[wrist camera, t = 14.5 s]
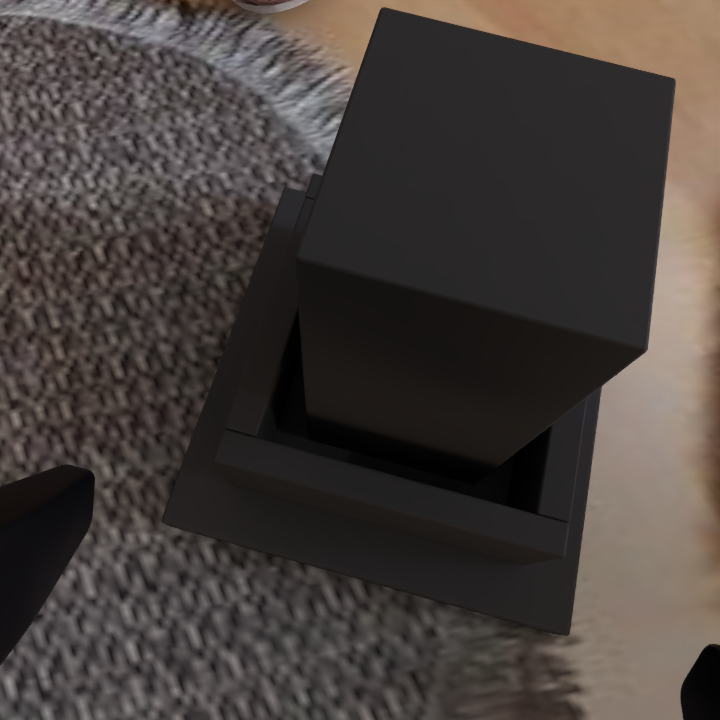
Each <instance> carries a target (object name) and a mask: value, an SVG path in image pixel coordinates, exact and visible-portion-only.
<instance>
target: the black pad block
mask: <svg viewBox="0 0 720 720" xmlns="http://www.w3.org/2000/svg"><path fill="white" fill-rule="evenodd" d="M675 84H676V80H675V79H674V78H670V77H666V76H662V75H658V74H654V73H650V72H646V71H642V70H638V69H633V68H629V67H625V66H621V65H617V64H613V63H609V62H605V61H601V60H597V59H593V58H589V57H585V56H581V55H576V54H572V53H568V52H564V51H560V50H556V49H552V48H548V47H544V46H540V45H536V44H532V43H528V42H524V41H519V40H515V39H511V38H507V37H503V36H499V35H495V34H491V33H487V32H483V31H479V30H475V29H471V28H466V27H462V26H458V25H454V24H450V23H446V22H442V21H438V20H434V19H430V18H426V17H422V16H418V15H414V14H409V13H405V12H401V11H397V10H393V9H389V8H385V7H384V8H381V10H380V12H379V15H378V18H377V21H376V23H375V26H374V29H373V32H372V35H371V38H370V41H369V44H368V46H367V49H366V52H365V55H364V58H363V61H362V64H361V67H360V69H359V72H358V75H357V78H356V81H355V84H354V87H353V90H352V92H351V95H350V98H349V101H348V104H347V107H346V110H345V113H344V115H343V118H342V121H341V124H340V127H339V130H338V133H337V136H336V138H335V141H334V144H333V147H332V150H331V153H330V156H329V158H328V161H327V164H326V167H325V170H324V173H323V176H322V179H321V181H320V184H319V187H318V190H317V193H316V196H315V199H314V202H313V204H312V207H311V210H310V213H309V216H308V219H307V222H306V225H305V227H304V230H303V233H302V236H301V239H300V242H299V245H298V248H297V250H296V253H295V256H294V257H295V270H296V284H297V297H298V311H299V324H300V337H301V351H302V364H303V378H304V391H305V404H306V418H307V431H308V439H309V440H313V441H316V442H320V443H324V444H327V445H331V446H335V447H338V448H342V449H346V450H349V451H353V452H357V453H360V454H364V455H367V456H371V457H375V458H378V459H382V460H386V461H389V462H393V463H397V464H400V465H404V466H408V467H411V468H415V469H419V470H422V471H426V472H430V473H433V474H437V475H440V476H444V477H448V478H451V479H455V480H459V481H462V482H466V483H470V484H476V483H477V482H479V481H480V480H481V479H482V478H484V477H485V476H486V475H488V474H489V473H490V472H491V471H493V470H494V469H495V468H497V467H498V466H499V465H501V464H502V463H503V462H504V461H506V460H507V459H508V458H510V457H511V456H512V455H513V454H515V453H516V452H517V451H519V450H520V449H521V448H522V447H524V446H525V445H526V444H528V443H529V442H530V441H531V440H533V439H534V438H535V437H537V436H538V435H539V434H541V433H542V432H543V431H544V430H546V429H547V428H548V427H550V426H551V425H552V424H553V423H555V422H556V421H557V420H559V419H560V418H561V417H562V416H564V415H565V414H566V413H568V412H569V411H570V410H571V409H573V408H574V407H575V406H577V405H578V404H579V403H581V402H582V401H583V400H584V399H586V398H587V397H588V396H590V395H591V394H592V393H593V392H595V391H596V390H597V389H599V388H600V387H601V386H602V385H604V384H605V383H606V382H608V381H609V380H610V379H611V378H613V377H614V376H615V375H617V374H618V373H619V372H621V371H622V370H623V369H624V368H626V367H627V366H628V365H630V364H631V363H632V362H633V361H635V360H636V359H637V358H639V357H640V356H641V355H642V354H644V353H645V352H646V351H647V349H648V341H649V332H650V322H651V313H652V303H653V294H654V284H655V274H656V265H657V255H658V246H659V236H660V227H661V217H662V208H663V198H664V189H665V179H666V170H667V160H668V151H669V141H670V132H671V122H672V113H673V103H674V94H675Z"/></svg>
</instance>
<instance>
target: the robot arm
mask: <svg viewBox="0 0 720 720" xmlns="http://www.w3.org/2000/svg"><path fill="white" fill-rule="evenodd" d="M94 486H95V477H94V474H93V473H92V472H91V471H90V470H88V469H84V468H80V467H77V466H73V465H68V464H65V465H61V466H58V467H55V468H52V469H49V470H47V471H44V472H41V473H38V474H35V475H32V476H29V477H27V478H24V479H21V480H18V481H15V482H12V483H10V484H7V485H4V486H1V487H0V665H1V664H2V662H3V661H4V660H5V659H6V657H7V656H8V655H9V653H10V652H11V651H12V649H13V648H14V647H15V645H16V644H17V643H18V641H19V640H20V639H21V637H22V636H23V635H24V633H25V632H26V630H27V629H28V628H29V626H30V625H31V623H32V622H33V620H34V619H35V617H36V616H37V614H38V612H39V611H40V609H41V608H42V606H43V604H44V603H45V601H46V599H47V598H48V596H49V595H50V593H51V591H52V590H53V588H54V586H55V585H56V583H57V581H58V580H59V578H60V576H61V575H62V573H63V571H64V570H65V568H66V566H67V565H68V563H69V561H70V560H71V558H72V556H73V555H74V553H75V551H76V550H77V548H78V546H79V545H80V543H81V542H82V540H83V538H84V537H85V535H86V533H87V531H88V529H89V527H90V524H91V520H92V515H93V501H94ZM681 707H682V713H683V720H720V645H718V644H709V645H708V646H706V647H705V648H704V649H703V651H702V652H701V654H700V655H699V657H698V659H697V660H696V662H695V664H694V665H693V667H692V668H691V670H690V672H689V673H688V675H687V677H686V678H685V680H684V682H683V684H682V688H681Z"/></svg>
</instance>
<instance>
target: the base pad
mask: <svg viewBox="0 0 720 720" xmlns="http://www.w3.org/2000/svg"><path fill="white" fill-rule="evenodd" d="M321 179H322V176H321V175H317V174H313V175H312V178H311V181H310V184H309V187H308V190H307V192H302V191H298V190H294V189H291V188H287V187H285V188H284V191H283V193H282V196H281V199H280V201H279V204H278V207H277V209H276V212H275V215H274V218H273V220H272V223H271V226H270V228H269V231H268V234H267V236H266V239H265V242H264V245H263V247H262V250H261V253H260V255H259V258H258V261H257V263H256V266H255V269H254V272H253V274H252V277H251V280H250V282H249V285H248V288H247V290H246V293H245V296H244V299H243V301H242V304H241V307H240V309H239V312H238V315H237V317H236V320H235V323H234V326H233V328H232V331H231V334H230V336H229V339H228V342H227V345H226V347H225V350H224V353H223V355H222V358H221V361H220V363H219V366H218V369H217V372H216V374H215V377H214V380H213V382H212V385H211V388H210V390H209V393H208V396H207V399H206V401H205V404H204V407H203V409H202V412H201V415H200V417H199V420H198V423H197V426H196V428H195V431H194V434H193V436H192V439H191V442H190V444H189V447H188V450H187V453H186V455H185V458H184V461H183V463H182V466H181V469H180V471H179V474H178V477H177V480H176V482H175V485H174V488H173V490H172V493H171V496H170V498H169V501H168V504H167V507H166V509H165V512H164V515H163V517H162V522H163V523H165V524H167V525H169V526H171V527H175V528H179V529H182V530H186V531H189V532H193V533H196V534H200V535H204V536H207V537H211V538H214V539H218V540H221V541H225V542H228V543H232V544H236V545H239V546H243V547H246V548H250V549H253V550H257V551H260V552H264V553H268V554H271V555H275V556H278V557H282V558H285V559H289V560H293V561H296V562H300V563H303V564H307V565H310V566H314V567H317V568H321V569H325V570H328V571H332V572H335V573H339V574H342V575H346V576H349V577H353V578H357V579H360V580H364V581H367V582H371V583H374V584H378V585H382V586H385V587H389V588H392V589H396V590H399V591H403V592H406V593H410V594H414V595H417V596H421V597H424V598H428V599H431V600H435V601H438V602H442V603H446V604H449V605H453V606H456V607H460V608H463V609H467V610H471V611H474V612H478V613H481V614H485V615H488V616H492V617H495V618H499V619H503V620H506V621H510V622H513V623H517V624H520V625H524V626H527V627H531V628H535V629H538V630H542V631H545V632H549V633H552V634H557V635H565V636H568V635H569V634H570V627H571V619H572V611H573V604H574V596H575V588H576V581H577V573H578V565H579V557H580V550H581V542H582V534H583V527H584V519H585V511H586V503H587V496H588V488H589V480H590V473H591V465H592V457H593V450H594V442H595V434H596V426H597V419H598V411H599V403H600V396H601V388H602V386H601V387H600V388H599V389H597V390H596V391H595V392H593V393H592V394H591V395H590V396H588V397H587V398H586V399H584V400H583V401H582V402H581V403H579V404H578V405H577V406H575V407H574V408H573V409H571V410H570V411H569V412H568V413H566V414H565V415H564V416H562V417H561V418H560V419H559V420H557V421H556V422H555V423H553V424H552V425H551V426H550V427H548V428H547V429H546V430H544V431H543V432H542V433H541V434H539V435H538V436H537V437H535V438H534V439H533V440H531V441H530V442H529V443H528V444H526V445H525V446H524V447H522V448H521V449H520V450H519V451H517V452H516V453H515V454H513V455H512V456H511V457H510V458H508V459H507V460H506V461H504V462H503V463H502V464H501V465H499V466H498V467H497V468H495V469H494V470H493V471H491V472H490V473H489V474H488V475H486V476H485V477H484V478H482V479H481V480H480V481H479V482H477V483H476V484H470V483H466V482H462V481H459V480H455V479H451V478H448V477H444V476H440V475H437V474H433V473H430V472H426V471H422V470H419V469H415V468H411V467H408V466H404V465H400V464H397V463H393V462H389V461H386V460H382V459H378V458H375V457H371V456H367V455H364V454H360V453H357V452H353V451H349V450H346V449H342V448H338V447H335V446H331V445H327V444H324V443H320V442H316V441H313V440H309V439H308V431H307V418H306V404H305V391H304V378H303V364H302V351H301V337H300V324H299V311H298V297H297V284H296V270H295V257H294V256H295V253H296V250H297V248H298V245H299V242H300V239H301V236H302V233H303V230H304V227H305V225H306V222H307V219H308V216H309V213H310V210H311V207H312V204H313V202H314V199H315V196H316V193H317V190H318V187H319V184H320V181H321Z"/></svg>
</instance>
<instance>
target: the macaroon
mask: <svg viewBox="0 0 720 720" xmlns="http://www.w3.org/2000/svg"><path fill="white" fill-rule="evenodd" d="M232 1H233V2H234V3H236V4H237V5H239V6H240V7H241V8H243V9H245V10H249V11H253V12H257V13H261V14H263V13H277V12H281V11H285V10H288V9H291V8H294V7H296V6H298V5H300V4H303V3H305V2H307V1H309V0H232Z"/></svg>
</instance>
